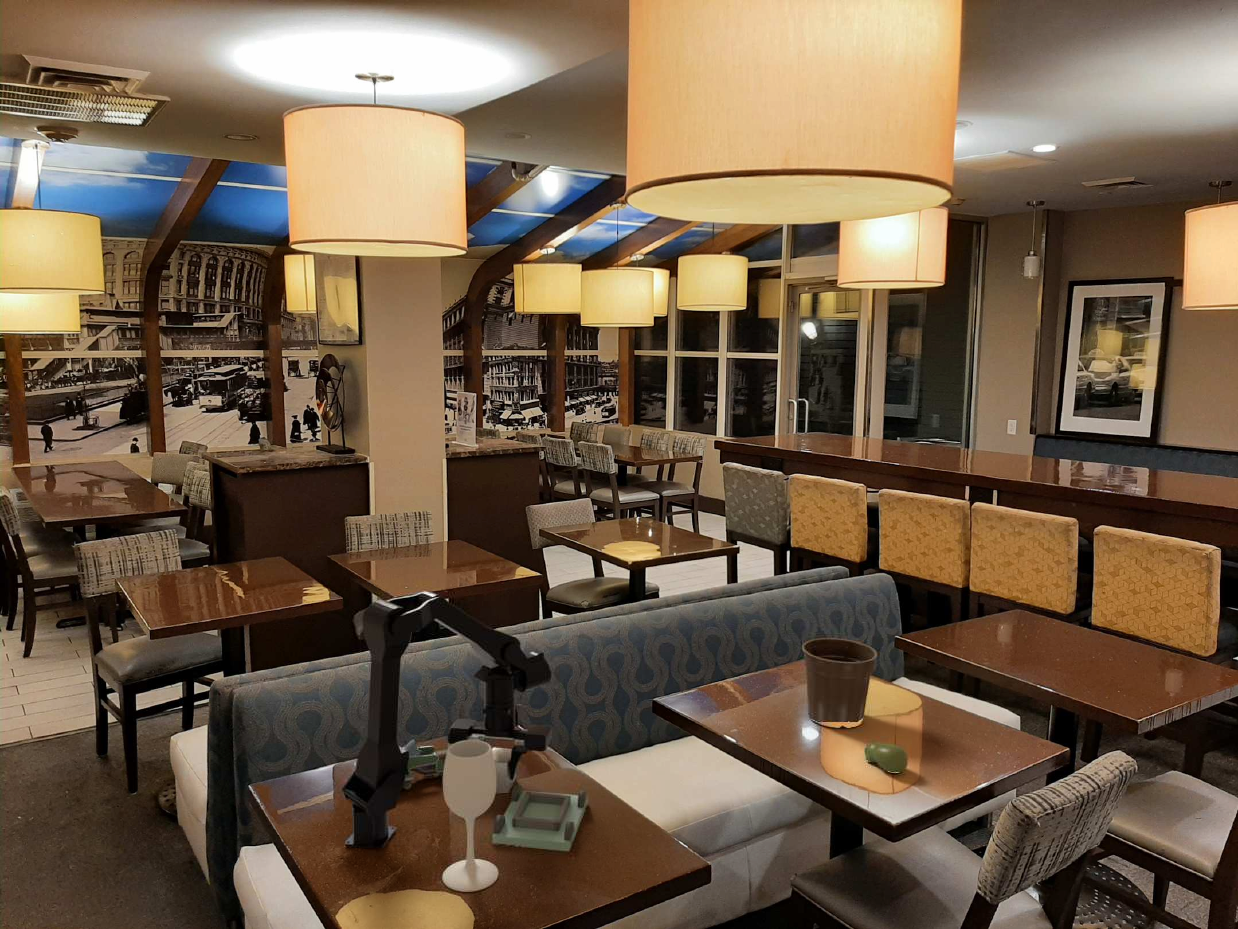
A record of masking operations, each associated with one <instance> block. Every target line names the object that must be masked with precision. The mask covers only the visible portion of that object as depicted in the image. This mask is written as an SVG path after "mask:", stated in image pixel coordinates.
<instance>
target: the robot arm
mask: <svg viewBox="0 0 1238 929" xmlns="http://www.w3.org/2000/svg"><path fill="white" fill-rule="evenodd" d="M432 621H435V622H436V623H438V624H440V625H441V626H443V627H445V628H447V629H448V630H450V631H451V632H453V633H454V634H456V635H457V636H459V637H461V638H462V639H464V640H466V642H468V644H470V647H471V649H473V651H475V653H476V654H478V655H479V657H480V658H481V659H484V660H485V661H488V662H491V663H493V664H496V665H495V666H493V665H492V666H490V667H489V666H486V665H484V664H482V665H481V667H480V669H478V670H477V671H476V672H475V673H474V676H473V678H474V679H477V680H479V681H480V682H483V683H484V684H483V688H484V697H483V698H484V700H483V701H484V704H483V705H484V706H483V708H482V714H483V715H484V727H483V726H478V722H477V721H476V719H470V718H469V719H467V718H457V720H456V721H455V722H454V723H453V724H452V725H451V727H449V729H448V732H447V743H448V744H449V745H452V744H454V743H457V742H460V741H464V740H480V741H484V742H486V743H488V744H489V743H490V739H492V740H501V741H502V740H503V741H504V740H505V741H514V745H513V747H512V748H511V749H512V750H511V767H510V775H511V780H513V779H514V777H515V774H516V775H517V771H518V769H519V768H518V767H519V765H520V762H521V759H522V756H523V755H526V754H528V752H529V751H533V752H545V751H546V750H547V749H548V747H549V745H550V743H551V742H552V739H553V735H552V734H553V731H552V728H551V726H550V725H545V724H535V723H534V724H530V726H529V727H528V729H516V727H519V725H520V722H522V721H523V709H524V704H522V703H521V704H520V703H518V701H517V698H516V691H517V692H520V693H524V692H527V691H530V690H533V689H537V688H539V687H544V686H546V685H548V684H549V683H550V681H551V679H552V671H551V669H550V665H549V663H548V661H547V660H546V658H545V653H544V652H542V651H540V650H534V651H531V652H529V653H526V654H525V653H524V651H523V650H522V648H521V645H522V644H521V641H520V640H519V638H517V637H516V636H514V635H510V634H508V633H505V632H502V631H500V630H497V629H494V628H491V627H490V626H486V625H485V624H483V623H482V622H480V621H479V620H477V619H475V617H473V616H471V615H470V614H468V613H466V612H465V611H464V610H462V609H460V607H457V606H456V605H454V604H453V603H451V602H450V601H448V600H447V599H446V598H445V597H444V596H443V595H440V594H438V593H435V592H433V591H430V590H424V591H422V592H418V593H415V594H413V595H405V596H399V597H394V598H391V599H388V600H384V599H383V600H381V599H380V600H376V601H374V602H372V603H370V605H369V606H368V607H367V608H365V609H364V611H363V615H362V628H363V636H364V639H365V642H366V645H367V648H368V651H369V653H370V658H371V659H370V673H369V674H370V676H369V696H368V697H369V698H368V719H367V734H366V735H367V737H366V740H365V742H364V743H363V746H362V747H361V749H360V751H359V752H358V756H357V759H358V760H357V759H356V760H357V765H356V770H355V769H354V771H353V773H351V775H350V777H349V778H348V779H347V781H346V783H345V784H344V786H342V788H341V792H342V794H343V798H344V799H345V800H346V801H349V802H350V803H352V831H353V833H352V834H350V836H349V837H348V838H347V840H346V841H345V842H344V845H345V846H346V847H353V848H361V849H372V850H382V849H383V848H384V847H385V845H387V843H388V842H389V841H390V839H391V837H393V835H394V834H395V833H396V831H397V827H396V826H390V825H389V811H390V810H394V809H396V807H397V803H398V800H399V796H400V793H401V790H402V788H404V787H403V785H404V783H405V778H406V776H405V775H409V772H408V771H409V770H408V760H409V751H407V750H406V749H404V748H403V747H402V746H401V745H399V743H398V725H399V706H400V705H399V704H400V688H401V687H400V686H401V685H400V684H401V683H400V682H401V668H402V667H401V666H402V657H403V655H404V653H405V652H406V650H407V648H408V647H409V646H410V643H411V639H412V633H415V632H417V631H420V630H422V629H424V628H425V627H426V626H427V625H429V623H431V622H432Z"/></svg>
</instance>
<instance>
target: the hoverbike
mask: <svg viewBox="0 0 1238 929" xmlns="http://www.w3.org/2000/svg"><path fill="white" fill-rule="evenodd" d="M402 748H404V749H406V750H407V751H409V760H408V772H409V775H405V776H406V778H405V783H404V785H403V787H402V788H404V789H405V790H409V789H411V787H412V784H413V783H412V780H413V779H414V778H415V775H414V774H415V773H417V774H418V775H419V774H420V775H423V777H424V779H428V778H433V777H435V774H439V776H440V777H441V778H443V771H444V765H445V759H446V755H447V751H448V748H447V749H442V750H438V751H436V747H435V746H433V745H428V746H427V745H426V746H421V744H418V745H416V741H415V738H414V739H411V740H410V741H409V742H407V744H406V745H405V746H403V747H402ZM357 760H358V758H357V759H356V760H355V762H354V763H353V765H354V771H355V770H356V765H357Z"/></svg>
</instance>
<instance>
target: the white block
mask: <svg viewBox="0 0 1238 929" xmlns="http://www.w3.org/2000/svg"><path fill="white" fill-rule="evenodd" d="M491 749H492V753H493V757H494V762H495V768H496V793H495V794H500V793H508V794H509V792H510V791H509V790H511V789H512V787H511V786H513V785H514V784H513V782H514V781H515V782H516V780H517V773H516V774H515V777H514V779H513V780H511V775H510V767H511V750H512V749H513V748H503V747H491ZM515 779H516V780H515ZM515 782H514V783H515ZM512 784H513V785H512ZM510 788H511V789H510ZM508 791H509V792H508Z"/></svg>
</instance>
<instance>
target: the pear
mask: <svg viewBox="0 0 1238 929" xmlns="http://www.w3.org/2000/svg"><path fill="white" fill-rule="evenodd" d="M864 754H865V761H866V760H868V761H870V762H872V763H876V764H877V765H878V766H879V767H880V768H881V769H882V768H883V769H882V770H884V771H885V770H886V771H890V772H901V771H903V772H904V771H905V770H906V769H907V767H908V764H909V760H908V759H909V758H908V754H907V752H906V751H905V750H904V749H903V748H902V747H900V746H898V745H897V744H892V743H881V742H879V741H878V742H875V741H874V742H872V743H870V744H867V745H865V747H864ZM886 771H885V772H886ZM901 773H902V772H901Z"/></svg>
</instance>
